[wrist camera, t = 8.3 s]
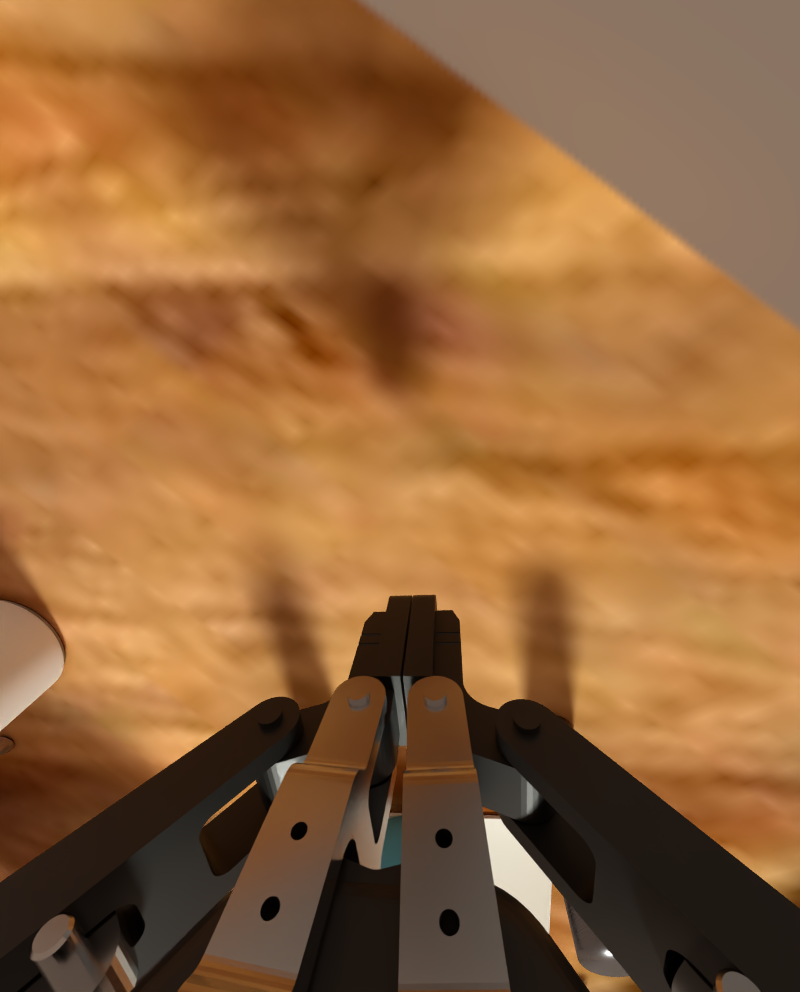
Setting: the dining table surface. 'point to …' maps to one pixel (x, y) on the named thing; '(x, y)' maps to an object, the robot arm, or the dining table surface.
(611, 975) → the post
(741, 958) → the robot arm
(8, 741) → the lion figurine
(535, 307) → the dining table surface
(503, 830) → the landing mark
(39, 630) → the can
